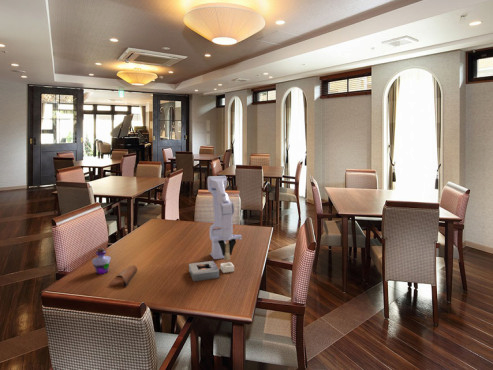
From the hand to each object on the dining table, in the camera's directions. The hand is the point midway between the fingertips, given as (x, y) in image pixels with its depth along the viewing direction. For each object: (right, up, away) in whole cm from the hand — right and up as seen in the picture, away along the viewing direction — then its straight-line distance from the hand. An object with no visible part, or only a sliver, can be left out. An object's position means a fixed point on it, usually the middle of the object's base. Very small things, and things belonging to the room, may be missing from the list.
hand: (227, 254), depth 164 cm
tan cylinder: (0, -2, 0) cm, 2 cm away
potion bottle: (-60, -9, -1) cm, 61 cm away
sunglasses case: (-47, -10, -9) cm, 49 cm away
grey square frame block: (-11, -9, -5) cm, 14 cm away
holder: (0, -8, +1) cm, 8 cm away
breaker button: (-11, -7, -5) cm, 14 cm away
